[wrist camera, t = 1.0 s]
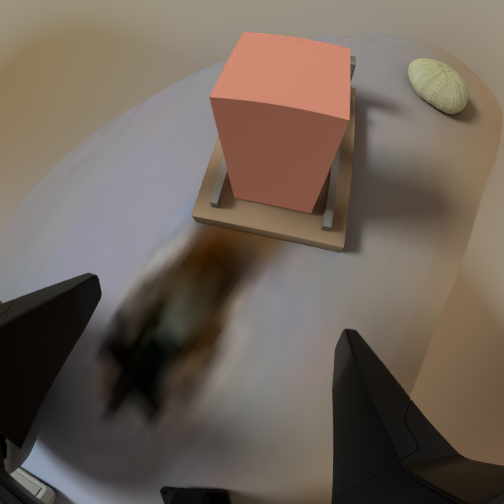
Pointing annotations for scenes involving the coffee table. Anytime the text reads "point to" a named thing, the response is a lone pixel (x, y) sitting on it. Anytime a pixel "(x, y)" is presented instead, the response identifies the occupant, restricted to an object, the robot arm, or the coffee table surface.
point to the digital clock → (34, 486)
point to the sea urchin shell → (438, 85)
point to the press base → (278, 218)
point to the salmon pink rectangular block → (281, 117)
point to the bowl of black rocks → (15, 455)
